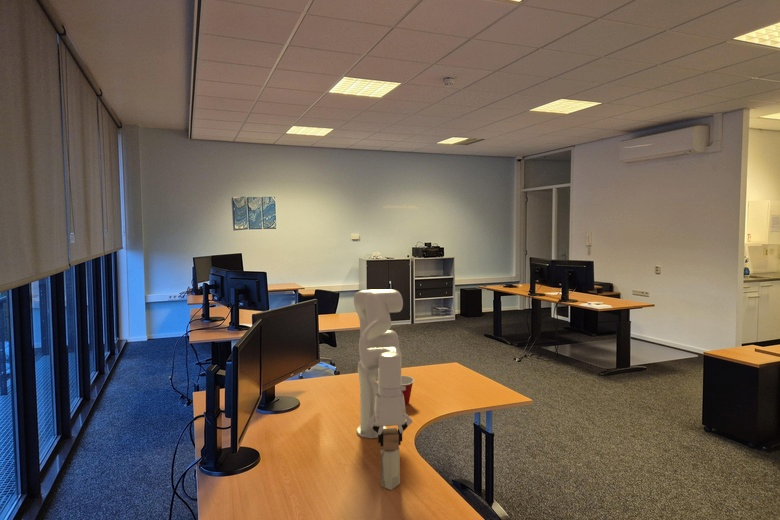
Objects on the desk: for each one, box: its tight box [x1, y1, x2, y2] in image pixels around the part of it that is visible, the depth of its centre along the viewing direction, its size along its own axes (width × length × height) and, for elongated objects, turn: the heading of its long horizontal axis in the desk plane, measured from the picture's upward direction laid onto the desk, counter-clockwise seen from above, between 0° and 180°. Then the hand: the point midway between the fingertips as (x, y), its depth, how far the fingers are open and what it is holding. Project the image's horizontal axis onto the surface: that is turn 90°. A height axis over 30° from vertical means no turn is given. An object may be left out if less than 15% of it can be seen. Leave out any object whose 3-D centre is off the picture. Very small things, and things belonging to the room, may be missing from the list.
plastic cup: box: [401, 375, 415, 406], centre depth 228 cm, size 11×11×12 cm
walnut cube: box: [382, 427, 400, 450], centre depth 156 cm, size 5×5×5 cm
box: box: [380, 447, 401, 491], centre depth 157 cm, size 5×4×13 cm
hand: (390, 443), depth 156 cm, fingers open, 5 cm apart
